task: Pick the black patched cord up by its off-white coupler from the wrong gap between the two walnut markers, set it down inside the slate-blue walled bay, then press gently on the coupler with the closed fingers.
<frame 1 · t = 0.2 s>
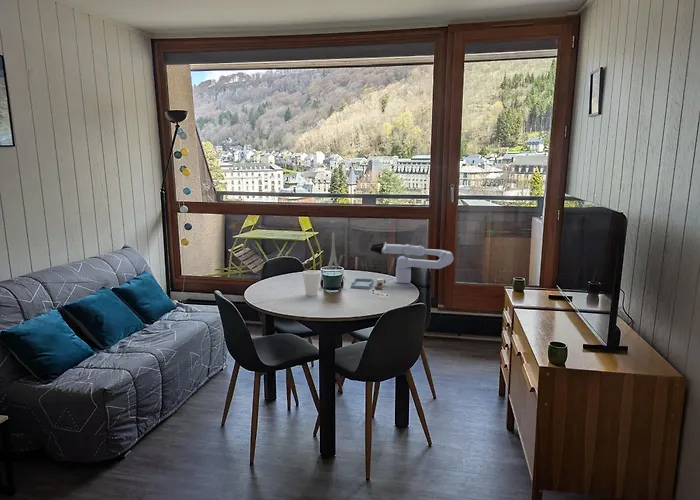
hand: (371, 247, 313), 21 cm above the table, tool horizontal, fingers open, 7 cm apart
eiffel tower: (333, 277, 327), on the table
foam cup: (311, 294, 284), on the table
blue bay: (362, 284, 306), on the table
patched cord: (380, 285, 304), on the table
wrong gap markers: (380, 285, 304), on the table
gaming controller: (332, 287, 300), on the table
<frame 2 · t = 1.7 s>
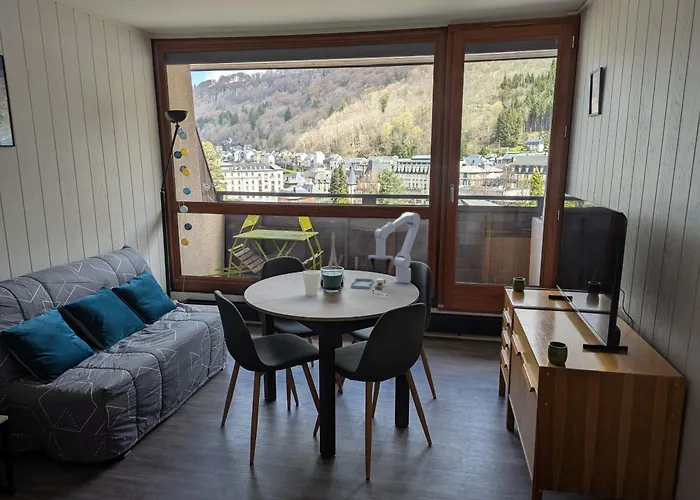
hand: (380, 270, 303), 9 cm above the table, tool pointing down, fingers open, 7 cm apart
nothing on the table moved.
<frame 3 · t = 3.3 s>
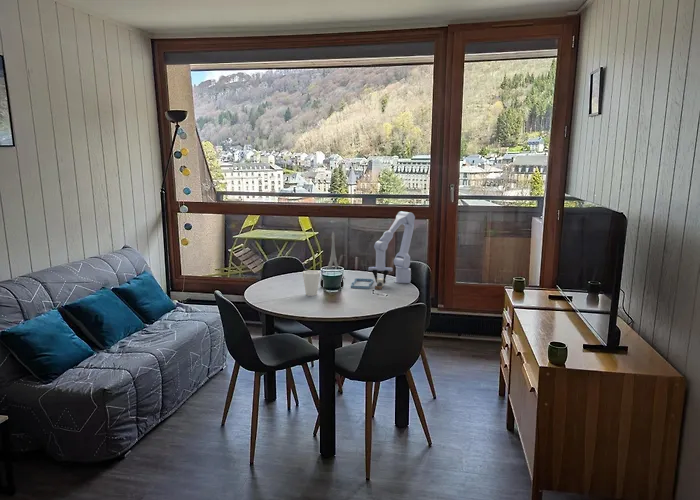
hand: (380, 282, 304), 2 cm above the table, tool pointing down, fingers closed on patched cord, 4 cm apart
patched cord: (380, 285, 304), on the table, touching gripper
everything else where it was.
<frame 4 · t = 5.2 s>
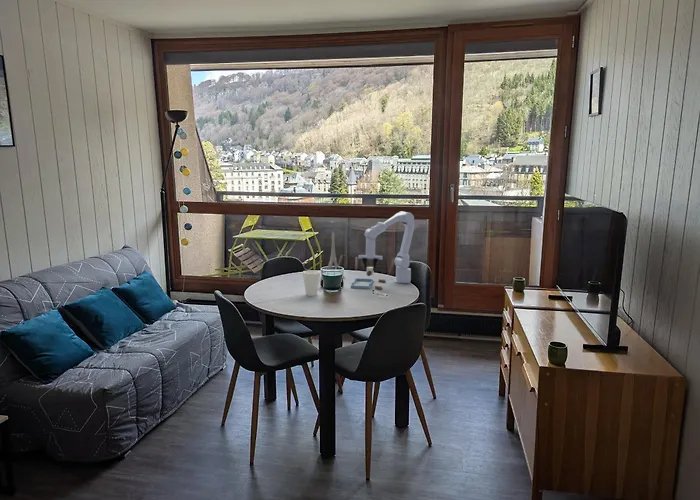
hand: (370, 270, 304), 9 cm above the table, tool pointing down, fingers closed on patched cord, 4 cm apart
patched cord: (370, 273, 304), point 7 cm above the table, touching gripper
everything else where it was.
when the fingers open (3 cm above the table, at t = 7.4 s): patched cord drops 1 cm, on the table.
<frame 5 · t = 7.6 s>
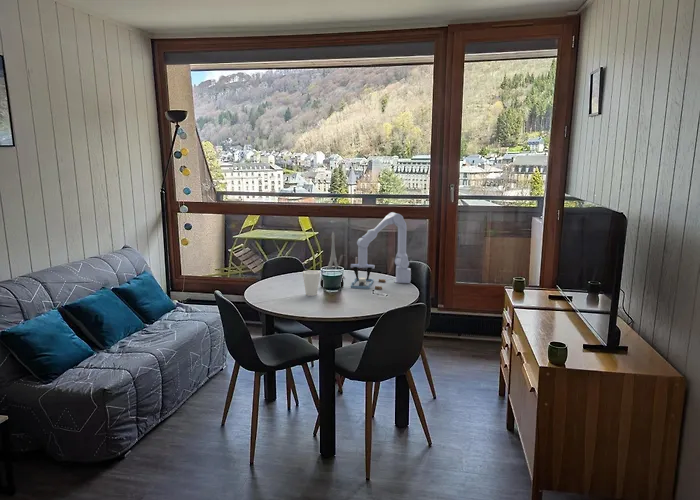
hand: (362, 279, 306), 3 cm above the table, tool pointing down, fingers open, 6 cm apart
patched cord: (362, 284, 306), on the table
everything else where it was.
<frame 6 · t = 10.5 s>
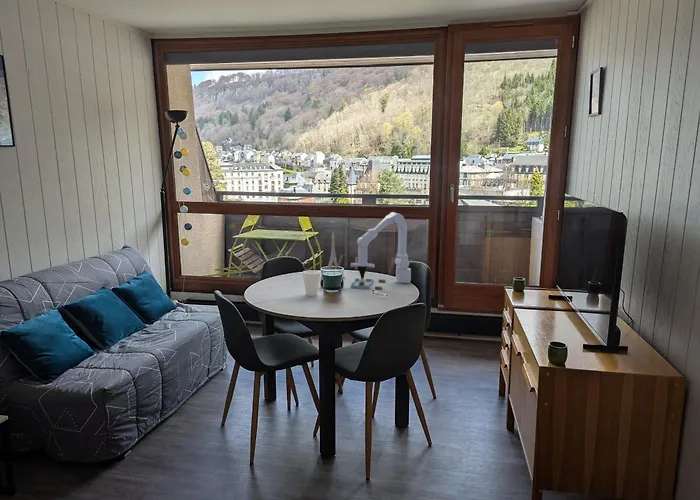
hand: (362, 278, 306), 4 cm above the table, tool pointing down, fingers closed, pressing on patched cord
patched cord: (362, 284, 306), on the table, touching gripper
everything else where it was.
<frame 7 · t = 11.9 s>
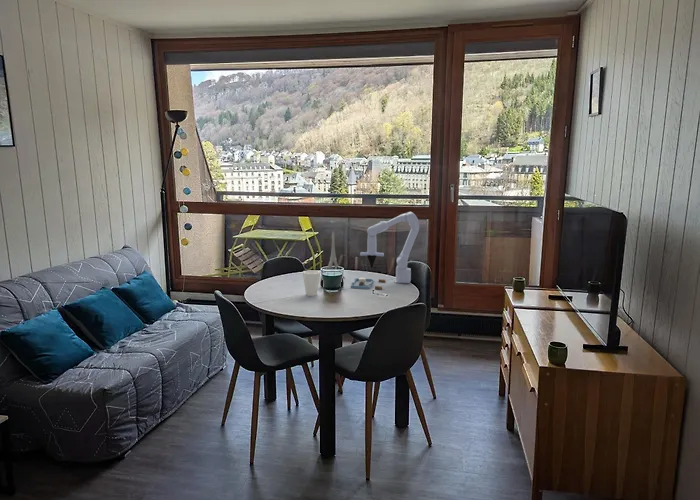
hand: (371, 267, 312), 9 cm above the table, tool pointing down, fingers closed
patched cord: (362, 284, 306), on the table
everything else where it was.
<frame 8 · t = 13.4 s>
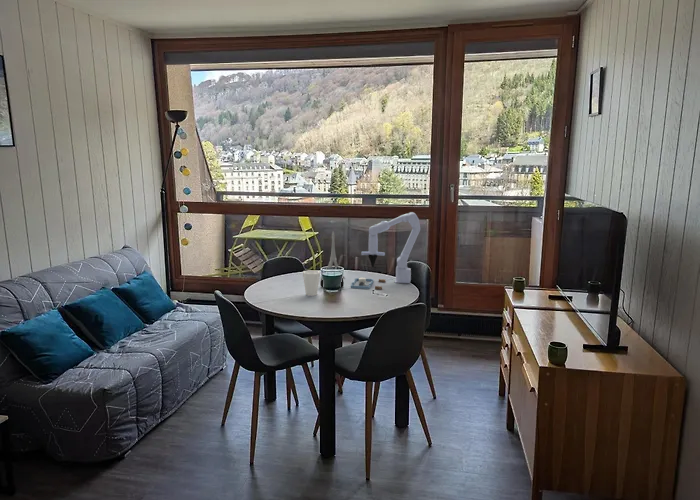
hand: (372, 266, 313), 9 cm above the table, tool pointing down, fingers closed
nothing on the table moved.
at the end: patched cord 0.2 cm off-centre on the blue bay, point 0.0 cm above the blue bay's base; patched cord tilted 0°; the gripper is holding nothing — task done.
